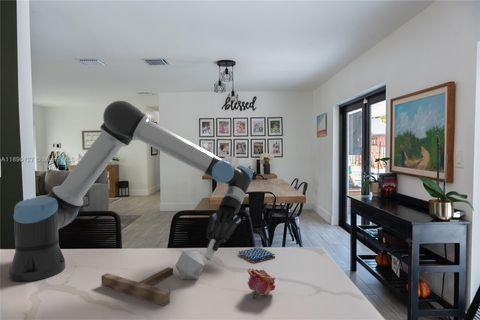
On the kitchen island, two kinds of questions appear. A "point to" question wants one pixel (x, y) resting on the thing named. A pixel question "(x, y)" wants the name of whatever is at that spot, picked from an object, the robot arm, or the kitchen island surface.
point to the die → (190, 265)
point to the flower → (260, 282)
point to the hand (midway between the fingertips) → (207, 258)
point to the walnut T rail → (141, 286)
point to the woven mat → (256, 254)
